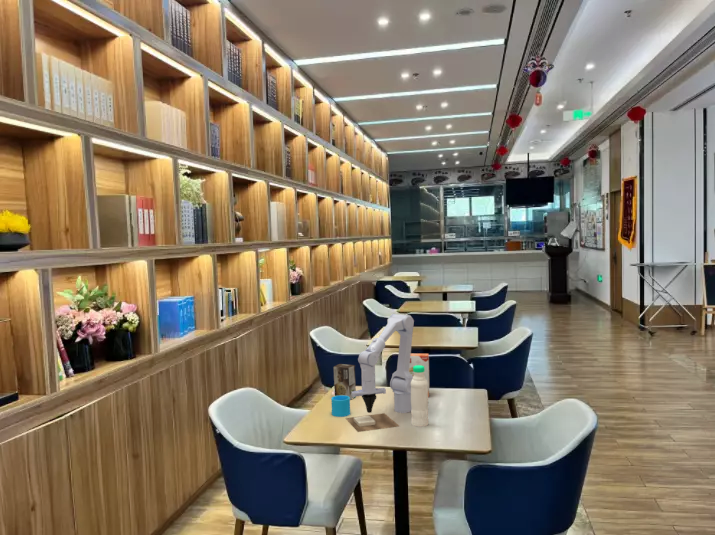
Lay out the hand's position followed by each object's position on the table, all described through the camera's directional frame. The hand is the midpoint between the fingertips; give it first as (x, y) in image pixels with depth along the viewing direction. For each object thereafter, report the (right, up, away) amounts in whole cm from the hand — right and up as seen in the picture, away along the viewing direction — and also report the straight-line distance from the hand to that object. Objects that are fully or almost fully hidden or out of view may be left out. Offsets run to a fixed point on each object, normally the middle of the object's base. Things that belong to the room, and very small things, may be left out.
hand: (369, 412), depth 219 cm
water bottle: (+21, -5, -3) cm, 22 cm away
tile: (+1, -4, +1) cm, 4 cm away
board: (+1, -5, +1) cm, 5 cm away
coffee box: (-11, -4, +41) cm, 42 cm away
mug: (-12, -5, +14) cm, 19 cm away
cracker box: (+24, -3, +41) cm, 47 cm away
